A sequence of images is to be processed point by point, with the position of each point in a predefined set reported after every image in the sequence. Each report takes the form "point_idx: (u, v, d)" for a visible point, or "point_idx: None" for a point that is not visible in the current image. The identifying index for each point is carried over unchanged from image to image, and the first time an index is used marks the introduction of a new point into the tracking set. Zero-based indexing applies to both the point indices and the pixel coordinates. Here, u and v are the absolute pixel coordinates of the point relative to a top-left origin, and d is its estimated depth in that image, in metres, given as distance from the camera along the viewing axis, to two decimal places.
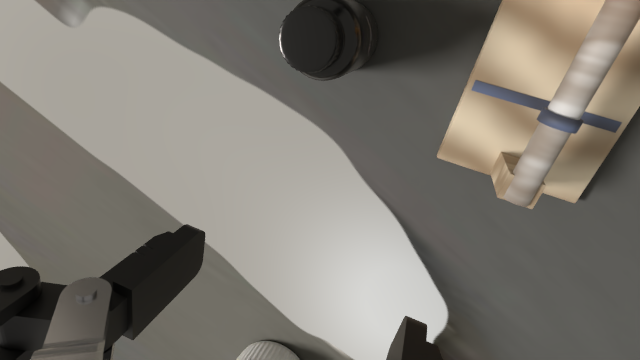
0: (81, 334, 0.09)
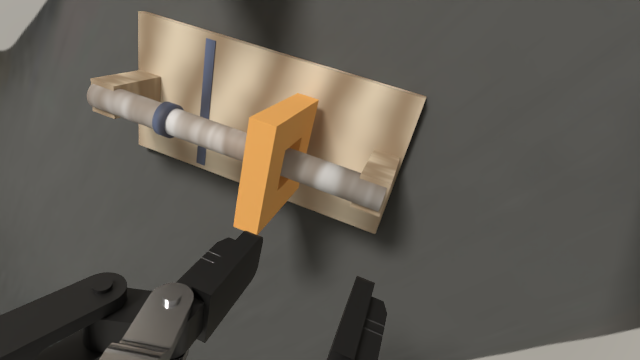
0: (154, 338, 0.09)
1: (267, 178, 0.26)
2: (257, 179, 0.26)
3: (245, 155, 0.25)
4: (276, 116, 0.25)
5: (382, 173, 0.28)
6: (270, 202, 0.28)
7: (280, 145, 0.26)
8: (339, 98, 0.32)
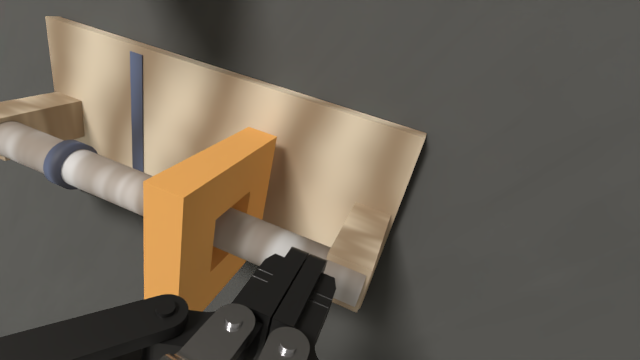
0: (207, 359, 0.09)
1: (181, 268, 0.17)
2: (166, 268, 0.17)
3: (146, 235, 0.16)
4: (193, 175, 0.17)
5: (360, 249, 0.19)
6: (198, 291, 0.20)
7: (201, 217, 0.17)
8: (305, 133, 0.23)
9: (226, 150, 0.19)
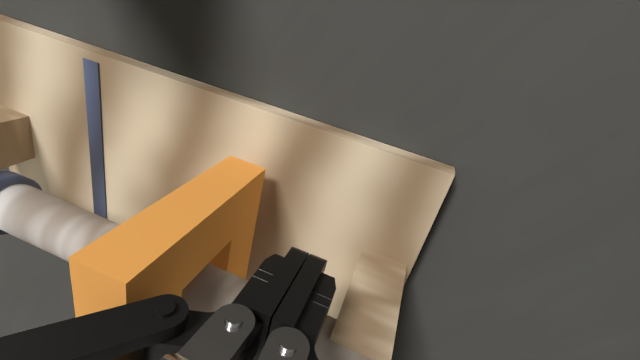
0: (207, 359, 0.09)
1: None
2: None
3: None
4: (146, 240, 0.12)
5: (373, 323, 0.15)
6: None
7: None
8: (301, 164, 0.18)
9: (198, 194, 0.15)
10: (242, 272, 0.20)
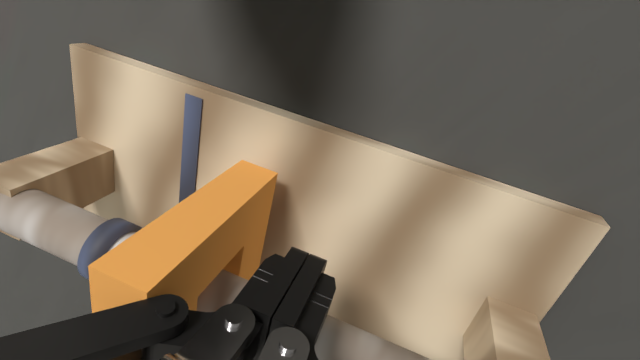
0: (207, 359, 0.09)
1: None
2: None
3: None
4: (164, 247, 0.12)
5: None
6: None
7: None
8: (427, 209, 0.17)
9: (212, 199, 0.15)
10: None
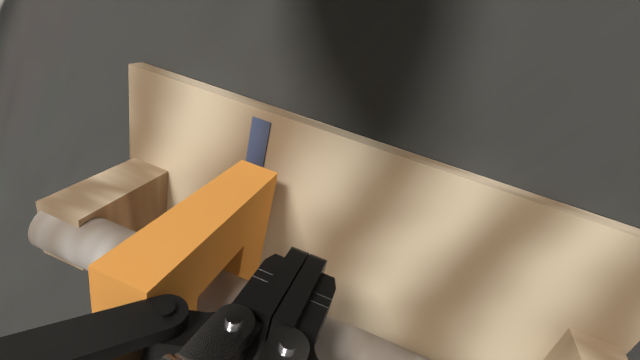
0: (207, 359, 0.09)
1: None
2: None
3: None
4: (164, 247, 0.12)
5: None
6: None
7: None
8: (510, 239, 0.17)
9: (212, 199, 0.15)
10: None
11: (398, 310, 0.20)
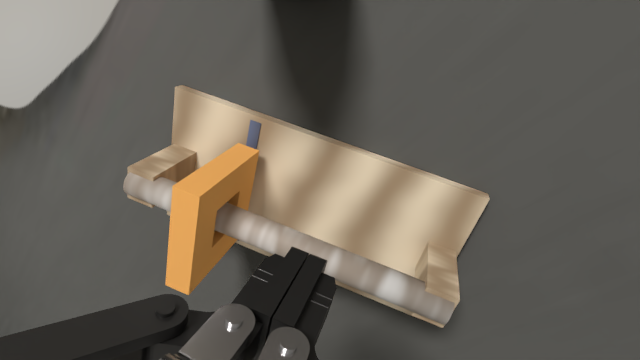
0: (207, 359, 0.09)
1: (195, 243, 0.25)
2: (184, 243, 0.25)
3: (172, 221, 0.25)
4: (203, 181, 0.25)
5: (446, 282, 0.27)
6: (204, 261, 0.28)
7: (208, 209, 0.25)
8: (393, 190, 0.30)
9: (223, 162, 0.28)
10: None
11: (337, 237, 0.34)
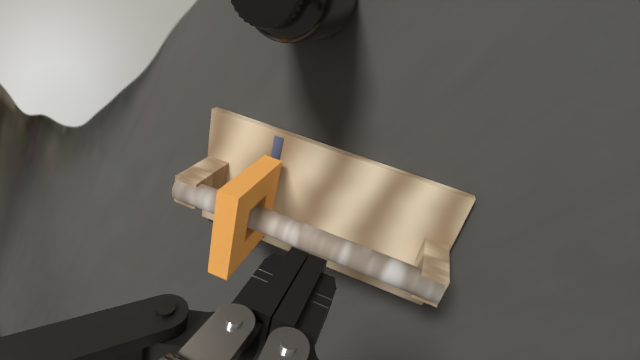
0: (207, 359, 0.09)
1: (233, 236, 0.31)
2: (225, 236, 0.31)
3: (215, 219, 0.31)
4: (240, 186, 0.31)
5: (439, 269, 0.32)
6: (238, 252, 0.34)
7: (244, 209, 0.31)
8: (395, 193, 0.36)
9: (254, 171, 0.34)
10: None
11: (348, 233, 0.39)
